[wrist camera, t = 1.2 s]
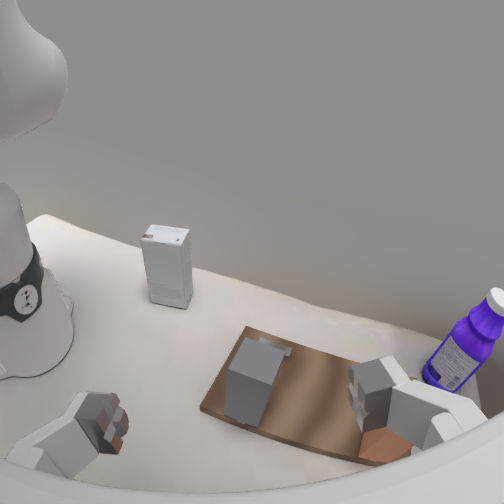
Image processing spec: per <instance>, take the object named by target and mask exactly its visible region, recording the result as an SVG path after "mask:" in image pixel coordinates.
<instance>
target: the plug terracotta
mask: <svg viewBox="0 0 504 504" xmlns="http://www.w3.org/2000/svg"><path fill="white" fill-rule="evenodd" d="M413 446H414V445H413V444H411V443H410V442H408V441H407V440H405V439H403V438H402V437H400V436H399V435H397V434H395V433H394V432H392V431H391V430H389V429H387V428H386V427H383V428H379V429H376V430H372V431H368V432H364V433H363V437H362V441H361V446H360V450H359V454H358V457H359V458H364V459H369V460H374V461H379V462H384V463H390V462H391V461H393V460H394V459H396V458H397V457H399V456H400V455H402V454H403V453H404V452H406V451H407V450H409V449H410V448H411V447H413Z"/></svg>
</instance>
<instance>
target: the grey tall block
mask: <svg viewBox="0 0 504 504" xmlns="http://www.w3.org/2000/svg"><path fill="white" fill-rule="evenodd" d="M285 352H286V351H283V350H280V349H278V348H275V347H272V346H269V345H266V344H263V343H261V342H258V341H255V340H252V339H250V338H247V337H245V339H244V340H243V342H242V344H241V346H240V348H239V349H238V351H237V353H236V355H235V357H234V358H233V360H232V362H231V364H230V366H229V367H228V373H227V384H226V397H225V409H224V415H226V416H228V417H231V418H233V419H236V420H238V421H241V422H243V423H246V424H249V425H251V426H254V427H257V428H258V426H259V423H260V421H261V419H262V417H263V414H264V412H265V410H266V407H267V405H268V403H269V400H270V398H271V395H272V392H273V389H274V386H275V383H276V380H277V377H278V374H279V371H280V368H281V364H282V361H283V358H284V355H285Z"/></svg>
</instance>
